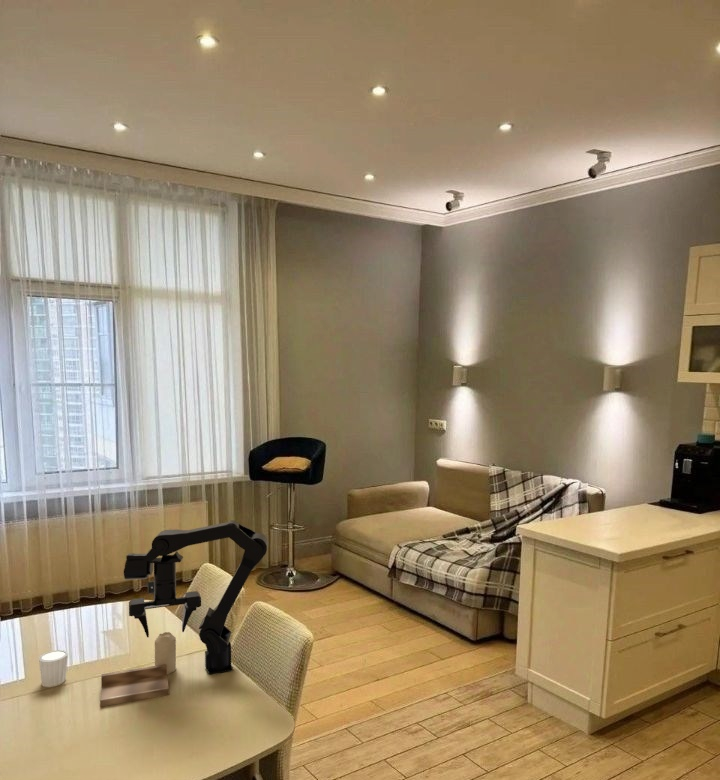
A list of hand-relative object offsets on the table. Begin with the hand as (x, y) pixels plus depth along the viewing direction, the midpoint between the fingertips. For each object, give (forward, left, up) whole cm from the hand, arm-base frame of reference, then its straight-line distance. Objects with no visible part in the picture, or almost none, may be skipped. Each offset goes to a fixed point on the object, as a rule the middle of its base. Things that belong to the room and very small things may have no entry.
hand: (165, 634), depth 167 cm
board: (+8, +9, -10) cm, 16 cm away
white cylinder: (+28, -4, -10) cm, 30 cm away
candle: (0, 0, -10) cm, 10 cm away
